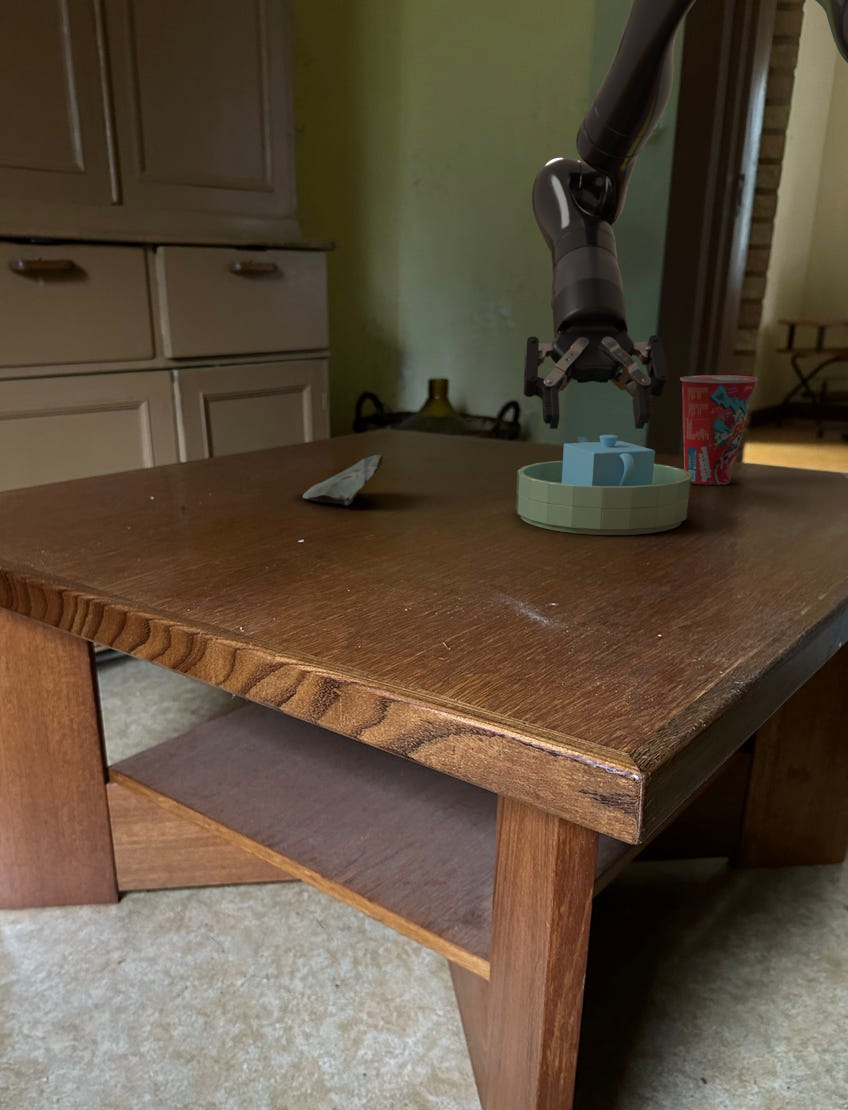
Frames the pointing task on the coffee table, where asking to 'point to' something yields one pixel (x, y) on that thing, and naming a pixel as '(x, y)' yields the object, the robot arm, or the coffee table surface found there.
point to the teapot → (607, 463)
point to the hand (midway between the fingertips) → (598, 423)
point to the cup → (714, 424)
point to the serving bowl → (602, 502)
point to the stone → (345, 483)
